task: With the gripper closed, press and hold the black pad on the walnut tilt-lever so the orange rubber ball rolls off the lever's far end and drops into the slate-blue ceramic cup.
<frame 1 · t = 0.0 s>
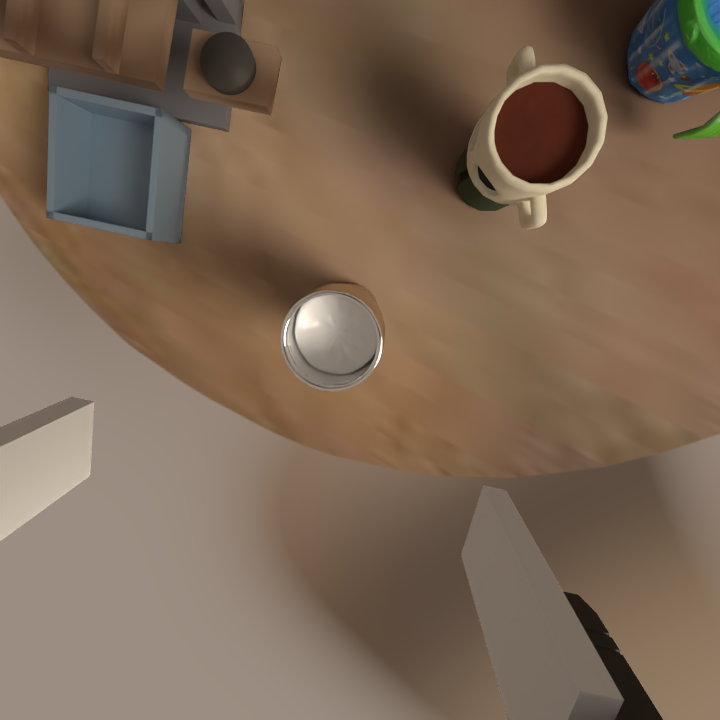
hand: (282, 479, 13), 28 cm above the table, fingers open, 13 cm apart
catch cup: (137, 178, 38), on the table
beer glass: (348, 314, 40), on the table
character mug: (488, 176, 37), on the table
snack cup: (666, 56, 34), on the table
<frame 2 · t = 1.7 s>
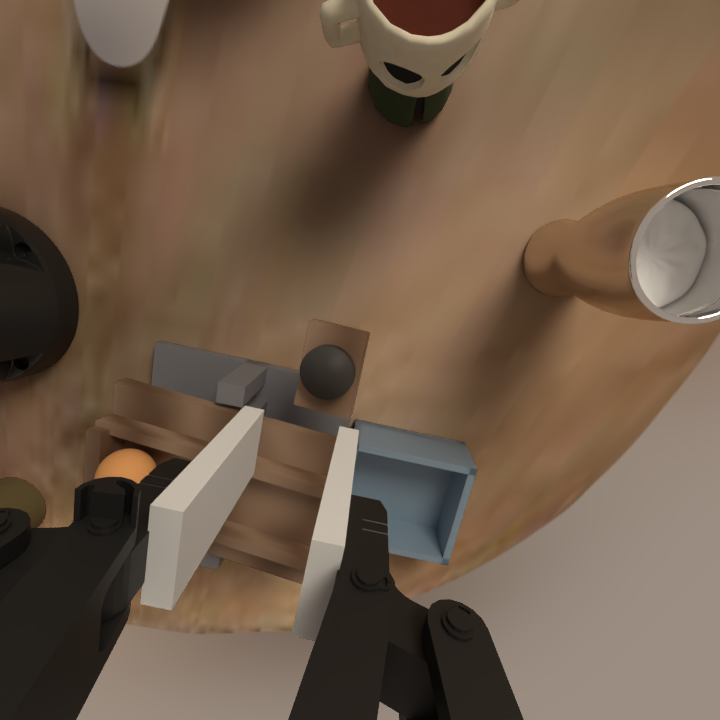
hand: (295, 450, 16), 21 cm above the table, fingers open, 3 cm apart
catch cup: (398, 475, 38), on the table
lever base: (247, 442, 38), on the table
ball: (126, 476, 30), point 9 cm above the table, tilted 12°, touching tilt lever
cork: (18, 503, 41), on the table
beer glass: (559, 258, 33), on the table
character mug: (409, 84, 31), on the table
tilt lever: (223, 435, 30), point 7 cm above the table, hinge at -8.0°, touching ball
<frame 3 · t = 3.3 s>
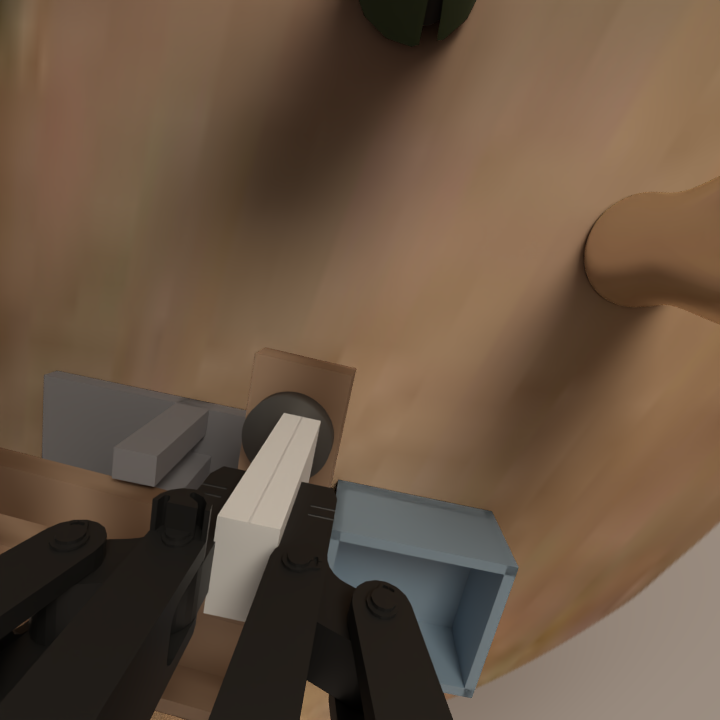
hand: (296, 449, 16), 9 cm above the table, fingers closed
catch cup: (399, 554, 27), on the table
lever base: (186, 511, 27), on the table
beer glass: (636, 251, 23), on the table
tilt lever: (126, 529, 19), point 7 cm above the table, hinge at -4.2°, touching ball, gripper
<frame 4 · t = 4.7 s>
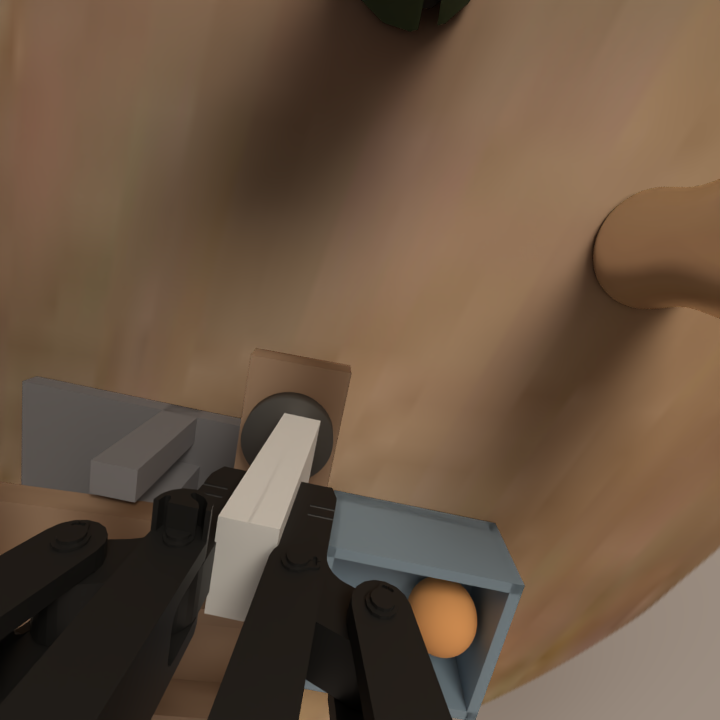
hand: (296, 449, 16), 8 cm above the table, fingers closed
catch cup: (398, 568, 26), on the table
lever base: (174, 523, 26), on the table
ball: (441, 614, 23), point 3 cm above the table, tilted 58°, touching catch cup
beer glass: (648, 250, 21), on the table
tilt lever: (106, 547, 18), point 7 cm above the table, hinge at 5.9°, touching gripper
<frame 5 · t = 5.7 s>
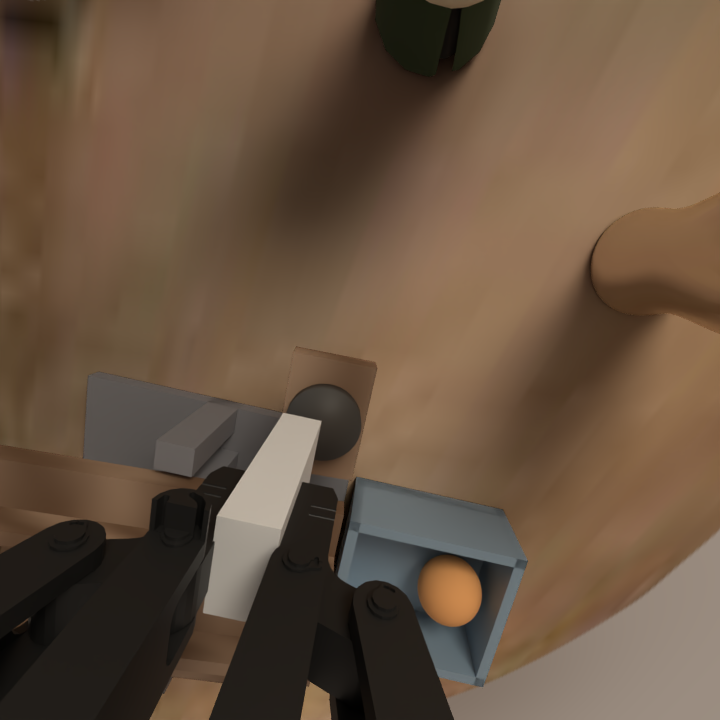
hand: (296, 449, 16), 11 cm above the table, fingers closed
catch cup: (413, 550, 29), on the table
lever base: (213, 504, 29), on the table
ball: (449, 589, 26), point 3 cm above the table, tilted 64°, touching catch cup
beer glass: (641, 262, 24), on the table
character mug: (433, 17, 22), on the table
tilt lever: (166, 516, 21), point 7 cm above the table, hinge at 5.9°
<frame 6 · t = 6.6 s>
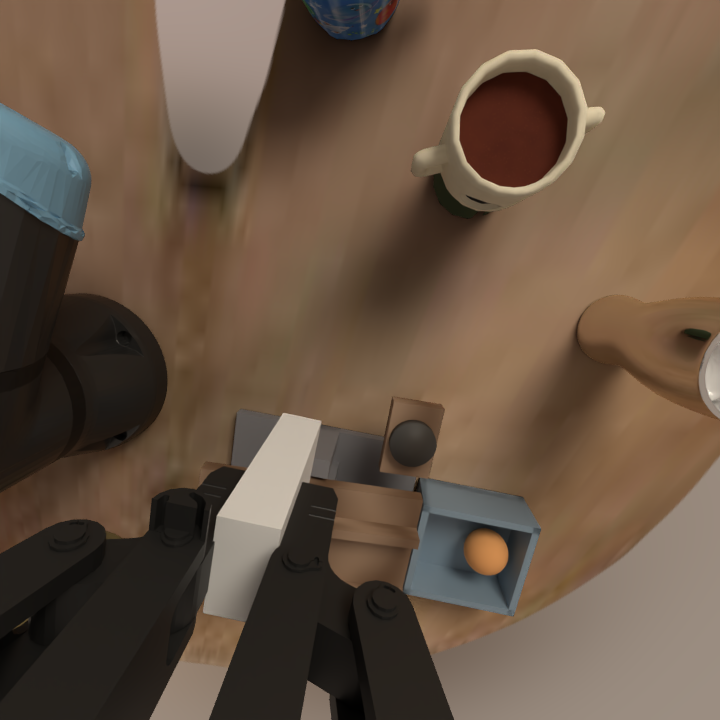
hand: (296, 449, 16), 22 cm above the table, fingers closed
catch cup: (460, 527, 41), on the table
lever base: (318, 498, 41), on the table
ball: (485, 551, 38), point 3 cm above the table, tilted 70°, touching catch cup
beer glass: (611, 329, 36), on the table
character mug: (469, 180, 34), on the table
tilt lever: (310, 504, 33), point 7 cm above the table, hinge at 5.9°
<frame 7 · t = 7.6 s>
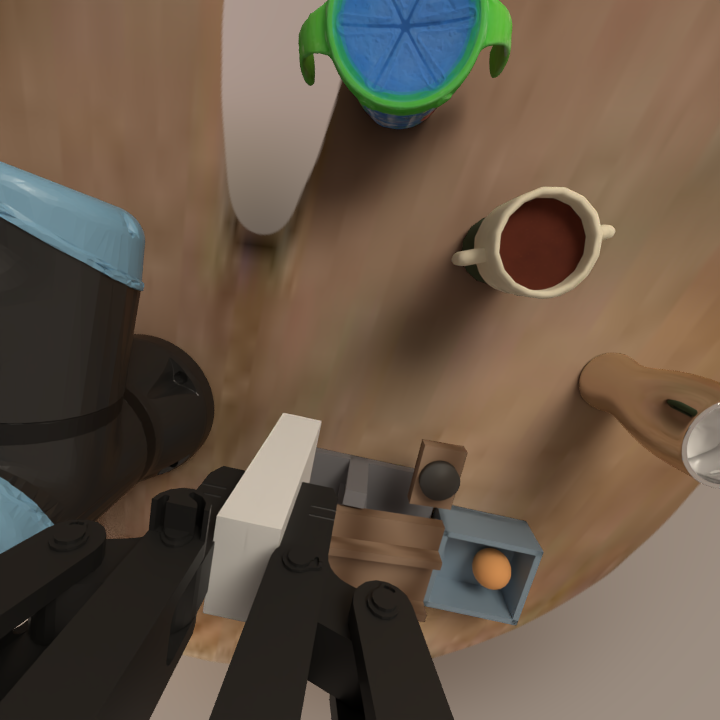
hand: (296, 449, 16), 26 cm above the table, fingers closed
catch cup: (470, 546, 46), on the table
lever base: (345, 519, 46), on the table
ball: (491, 568, 43), point 3 cm above the table, tilted 77°, touching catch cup
beer glass: (607, 380, 41), on the table
character mug: (492, 250, 39), on the table
tilt lever: (347, 529, 38), point 7 cm above the table, hinge at 5.9°
snack cup: (399, 86, 36), on the table
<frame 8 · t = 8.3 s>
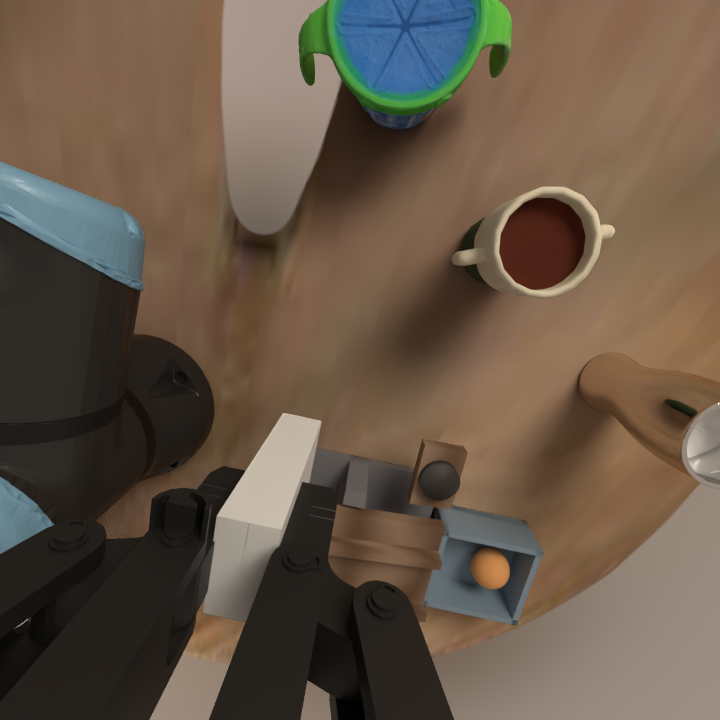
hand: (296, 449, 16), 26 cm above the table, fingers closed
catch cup: (470, 546, 46), on the table
lever base: (345, 519, 46), on the table
ball: (489, 568, 43), point 3 cm above the table, tilted 82°, touching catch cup
beer glass: (607, 380, 41), on the table
character mug: (492, 250, 39), on the table
tilt lever: (347, 529, 38), point 7 cm above the table, hinge at 5.9°
snack cup: (399, 86, 36), on the table
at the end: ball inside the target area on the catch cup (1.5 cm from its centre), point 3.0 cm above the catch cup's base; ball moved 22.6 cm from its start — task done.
